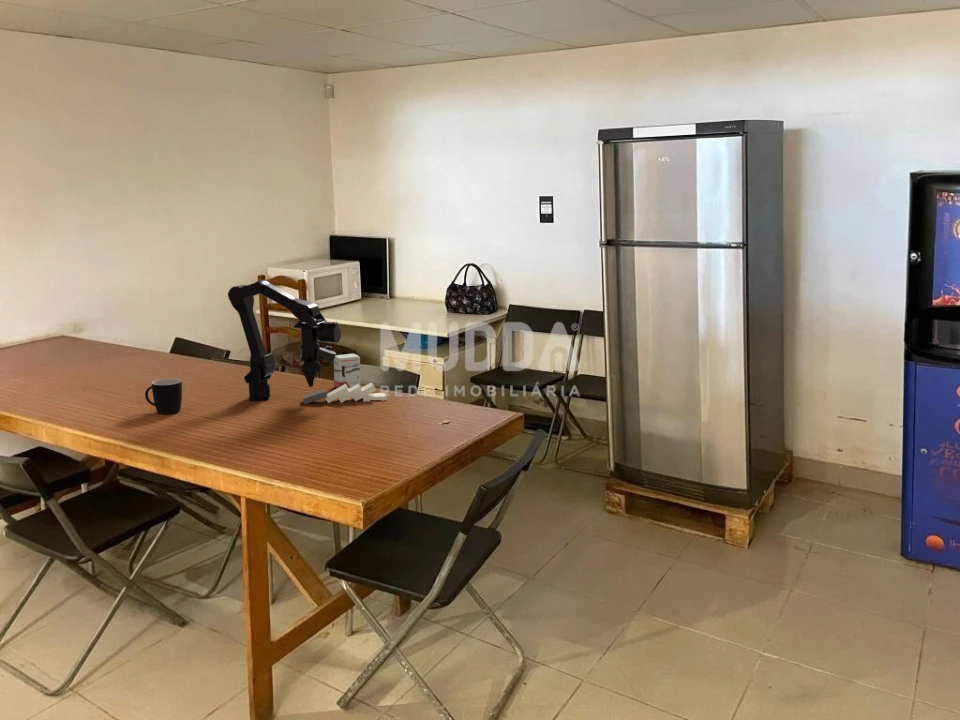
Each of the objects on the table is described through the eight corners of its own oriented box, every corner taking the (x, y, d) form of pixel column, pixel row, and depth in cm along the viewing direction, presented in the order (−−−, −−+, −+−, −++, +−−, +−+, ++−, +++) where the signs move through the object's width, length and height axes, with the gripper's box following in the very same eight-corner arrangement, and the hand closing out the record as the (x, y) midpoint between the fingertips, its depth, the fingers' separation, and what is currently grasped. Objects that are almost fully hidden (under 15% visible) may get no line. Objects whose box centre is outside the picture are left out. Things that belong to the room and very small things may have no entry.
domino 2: (325, 398, 262) (346, 386, 263) (324, 394, 267) (345, 383, 267) (328, 403, 263) (349, 391, 264) (327, 399, 267) (348, 388, 268)
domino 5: (363, 397, 266) (386, 396, 268) (361, 394, 270) (384, 392, 272) (363, 403, 266) (386, 401, 268) (361, 399, 270) (384, 398, 272)
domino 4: (352, 396, 265) (373, 385, 266) (350, 393, 269) (371, 382, 270) (355, 401, 265) (376, 389, 267) (353, 398, 269) (373, 387, 271)
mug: (188, 409, 254) (186, 379, 252) (175, 416, 245) (172, 385, 243) (154, 407, 255) (151, 377, 253) (139, 415, 247) (136, 384, 244)
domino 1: (302, 398, 261) (325, 391, 262) (302, 395, 265) (325, 388, 266) (304, 404, 261) (327, 396, 262) (304, 401, 265) (327, 393, 267)
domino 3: (338, 397, 263) (359, 386, 264) (337, 394, 268) (358, 383, 269) (341, 402, 264) (362, 391, 265) (340, 399, 268) (360, 388, 269)
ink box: (339, 389, 282) (338, 357, 279) (334, 387, 286) (333, 355, 283) (361, 386, 286) (360, 355, 284) (355, 384, 290) (354, 353, 288)
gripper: (335, 345, 253) (336, 392, 256) (332, 335, 270) (333, 379, 274) (300, 346, 250) (302, 393, 253) (299, 336, 268) (301, 380, 271)
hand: (311, 386), depth 263 cm, fingers closed
